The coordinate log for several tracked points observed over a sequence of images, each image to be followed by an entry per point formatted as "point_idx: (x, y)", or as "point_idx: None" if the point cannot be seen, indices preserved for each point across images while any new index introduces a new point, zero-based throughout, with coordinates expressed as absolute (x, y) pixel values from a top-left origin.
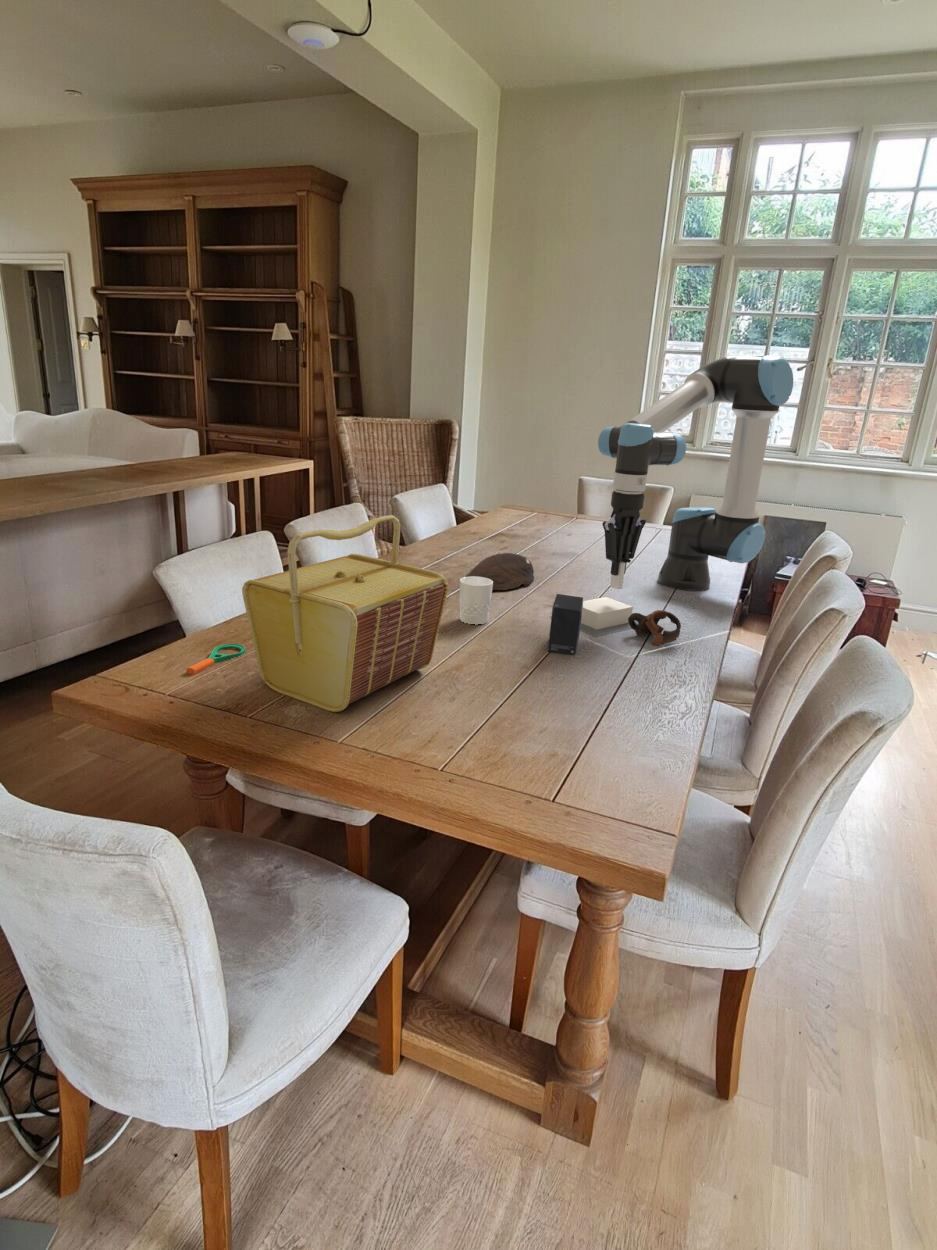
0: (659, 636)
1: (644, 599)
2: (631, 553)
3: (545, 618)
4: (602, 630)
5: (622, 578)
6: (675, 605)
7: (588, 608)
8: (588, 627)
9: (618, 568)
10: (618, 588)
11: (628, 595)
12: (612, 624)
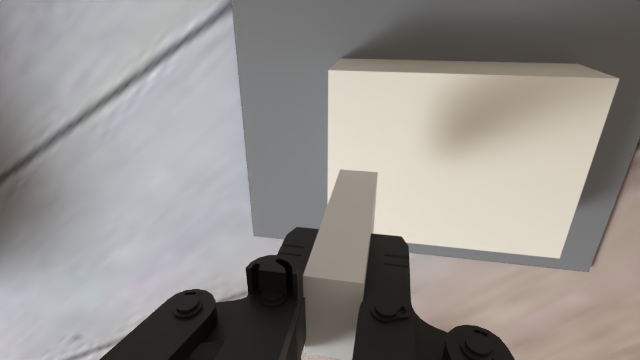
0: None
1: (91, 217)
2: (190, 338)
3: (598, 273)
4: (565, 39)
5: (339, 201)
6: (19, 121)
7: (571, 168)
8: None
9: (371, 267)
10: (374, 173)
11: (119, 267)
12: (466, 62)
